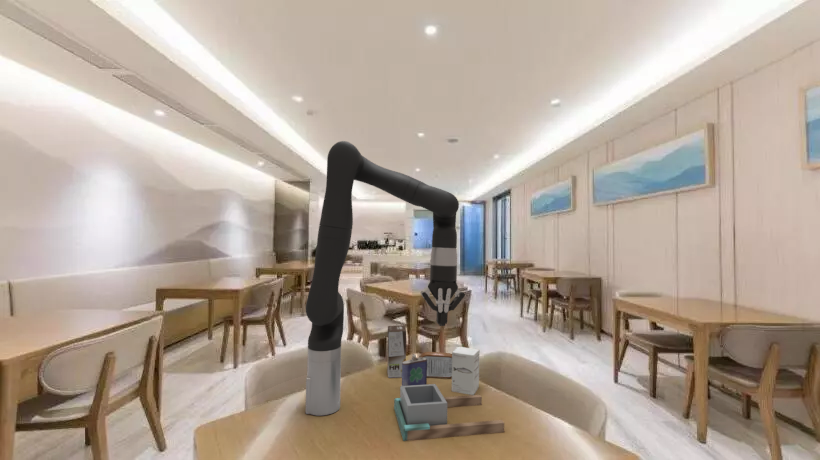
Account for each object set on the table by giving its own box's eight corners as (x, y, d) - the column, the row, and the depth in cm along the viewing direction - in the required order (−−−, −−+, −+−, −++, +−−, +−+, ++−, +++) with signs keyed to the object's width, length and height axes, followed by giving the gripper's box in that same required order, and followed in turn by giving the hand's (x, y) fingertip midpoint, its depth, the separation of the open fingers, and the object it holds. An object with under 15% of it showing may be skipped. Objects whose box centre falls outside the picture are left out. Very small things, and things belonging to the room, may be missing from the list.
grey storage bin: (407, 435, 86) (407, 405, 86) (400, 411, 98) (400, 386, 98) (447, 431, 88) (447, 403, 88) (435, 409, 99) (435, 384, 100)
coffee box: (406, 377, 123) (406, 331, 124) (387, 378, 123) (388, 331, 123) (403, 368, 133) (404, 325, 133) (386, 368, 132) (387, 325, 132)
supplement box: (450, 392, 112) (451, 351, 112) (457, 383, 118) (458, 345, 119) (473, 396, 108) (474, 355, 109) (479, 387, 115) (479, 348, 116)
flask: (404, 392, 111) (404, 358, 111) (399, 389, 114) (399, 355, 114) (428, 386, 116) (428, 353, 116) (423, 383, 118) (423, 351, 119)
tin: (459, 376, 125) (459, 352, 125) (459, 380, 122) (459, 355, 122) (416, 374, 126) (417, 350, 127) (416, 377, 123) (416, 353, 124)
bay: (403, 442, 83) (403, 428, 83) (394, 409, 100) (394, 398, 100) (504, 433, 88) (504, 420, 88) (479, 403, 104) (479, 392, 104)
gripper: (423, 264, 96) (421, 328, 95) (470, 265, 98) (468, 328, 97) (418, 262, 103) (416, 322, 102) (462, 263, 105) (460, 322, 105)
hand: (441, 325), depth 100 cm, fingers closed
